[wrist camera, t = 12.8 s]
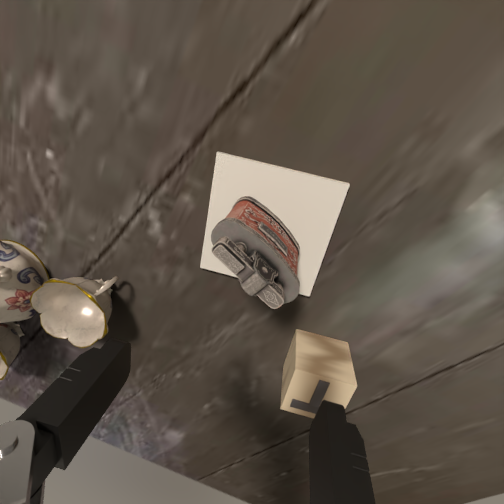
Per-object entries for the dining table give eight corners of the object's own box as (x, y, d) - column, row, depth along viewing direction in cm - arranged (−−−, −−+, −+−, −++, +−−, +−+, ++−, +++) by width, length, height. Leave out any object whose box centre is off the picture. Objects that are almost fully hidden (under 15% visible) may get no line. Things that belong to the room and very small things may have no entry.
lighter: (308, 247, 27) (311, 308, 18) (282, 268, 29) (274, 333, 20) (249, 187, 26) (222, 221, 17) (225, 212, 27) (188, 255, 18)
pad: (348, 183, 25) (349, 184, 24) (309, 293, 30) (309, 296, 30) (218, 151, 26) (217, 152, 25) (201, 265, 31) (200, 267, 30)
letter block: (347, 342, 32) (357, 387, 27) (330, 379, 35) (336, 427, 29) (296, 328, 32) (295, 370, 27) (283, 366, 35) (279, 412, 30)
